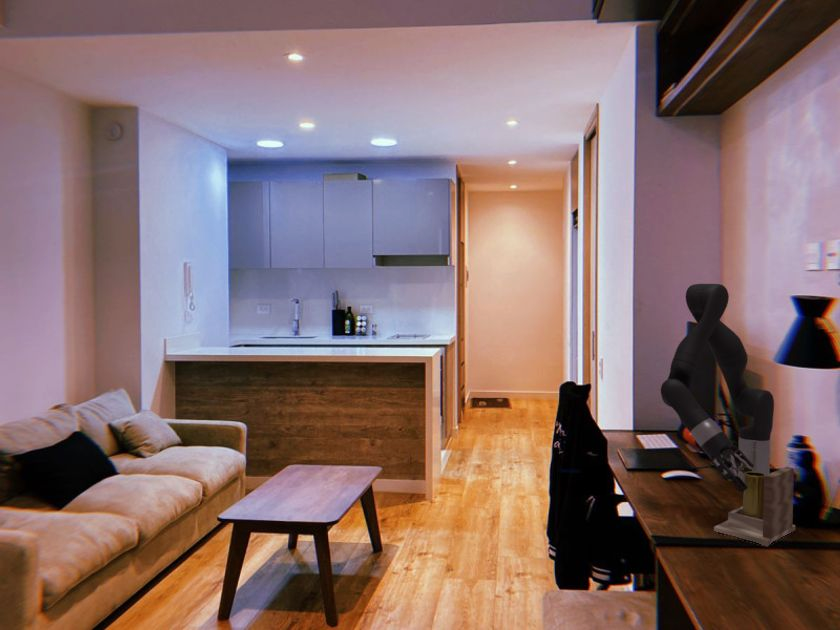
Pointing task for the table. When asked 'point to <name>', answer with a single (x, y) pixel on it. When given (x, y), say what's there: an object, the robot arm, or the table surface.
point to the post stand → (766, 512)
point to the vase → (753, 494)
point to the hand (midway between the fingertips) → (751, 487)
